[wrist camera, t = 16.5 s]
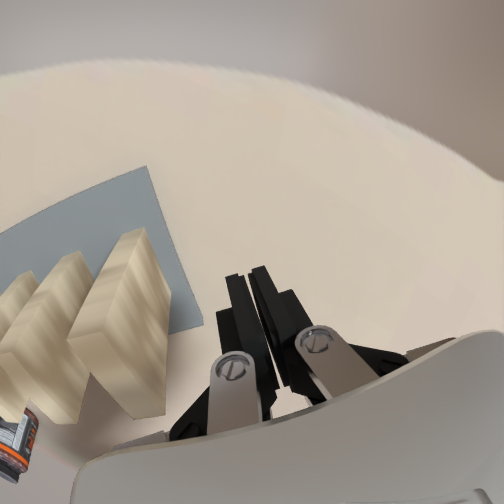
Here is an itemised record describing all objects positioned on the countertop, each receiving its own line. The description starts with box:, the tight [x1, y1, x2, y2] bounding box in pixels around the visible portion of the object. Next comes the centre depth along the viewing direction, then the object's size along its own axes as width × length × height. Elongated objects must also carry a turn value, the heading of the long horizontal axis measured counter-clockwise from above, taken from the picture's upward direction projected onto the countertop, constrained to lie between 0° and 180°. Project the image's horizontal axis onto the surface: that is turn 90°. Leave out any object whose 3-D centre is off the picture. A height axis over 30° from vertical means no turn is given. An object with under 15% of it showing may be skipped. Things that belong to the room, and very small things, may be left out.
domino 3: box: [66, 227, 171, 420], centre depth 13 cm, size 5×2×10 cm, turn 13°
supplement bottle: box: [0, 408, 38, 484], centre depth 18 cm, size 6×6×11 cm
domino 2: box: [0, 250, 95, 424], centre depth 13 cm, size 5×2×10 cm, turn 14°
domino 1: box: [0, 270, 39, 423], centre depth 13 cm, size 5×2×10 cm, turn 13°
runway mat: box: [0, 166, 204, 335], centre depth 18 cm, size 12×24×1 cm, turn 103°
